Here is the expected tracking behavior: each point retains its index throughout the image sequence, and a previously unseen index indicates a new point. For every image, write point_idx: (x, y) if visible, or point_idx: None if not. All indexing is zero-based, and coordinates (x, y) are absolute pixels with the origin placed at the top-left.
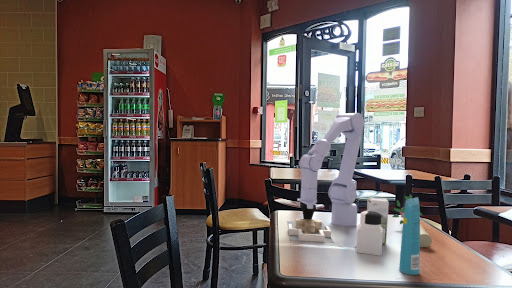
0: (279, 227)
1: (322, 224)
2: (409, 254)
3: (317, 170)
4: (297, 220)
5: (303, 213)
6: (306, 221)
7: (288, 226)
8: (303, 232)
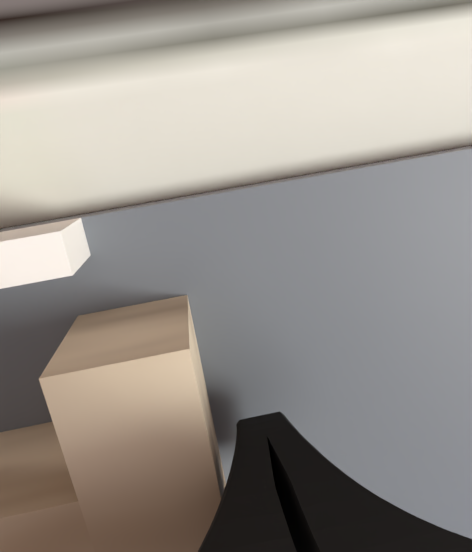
0: (264, 63)
1: (469, 536)
2: None
3: None
4: (52, 398)
5: (203, 542)
6: (56, 528)
7: (61, 226)
8: (22, 413)
